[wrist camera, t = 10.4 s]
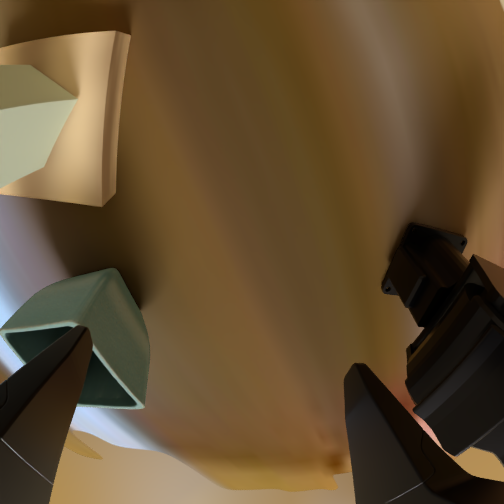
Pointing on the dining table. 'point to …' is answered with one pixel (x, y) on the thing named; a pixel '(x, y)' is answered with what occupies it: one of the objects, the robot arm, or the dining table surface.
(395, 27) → the dining table surface
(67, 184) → the tan square coaster
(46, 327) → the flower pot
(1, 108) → the tea tin
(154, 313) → the dining table surface
